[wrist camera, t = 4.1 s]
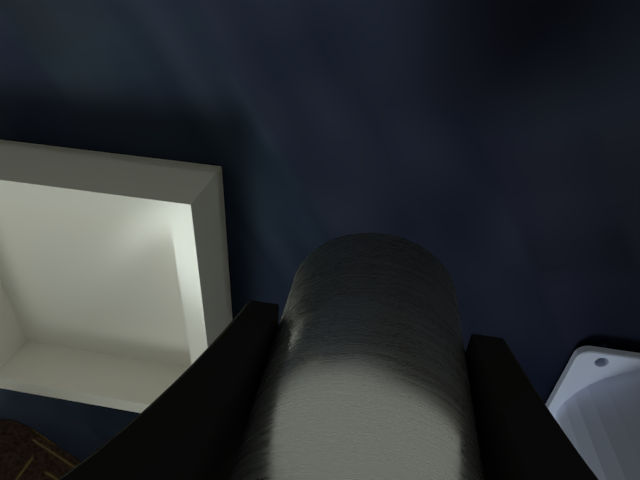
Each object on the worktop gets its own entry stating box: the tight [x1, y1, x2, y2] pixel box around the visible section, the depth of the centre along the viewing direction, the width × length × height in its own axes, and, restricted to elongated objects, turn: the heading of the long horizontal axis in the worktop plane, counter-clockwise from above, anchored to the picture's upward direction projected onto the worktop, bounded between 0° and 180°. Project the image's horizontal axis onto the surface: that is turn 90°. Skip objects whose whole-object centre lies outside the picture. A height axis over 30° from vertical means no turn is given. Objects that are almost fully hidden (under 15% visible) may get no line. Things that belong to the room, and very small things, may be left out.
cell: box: [229, 233, 484, 480], centre depth 8 cm, size 4×4×7 cm
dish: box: [0, 140, 233, 413], centre depth 20 cm, size 12×12×3 cm
